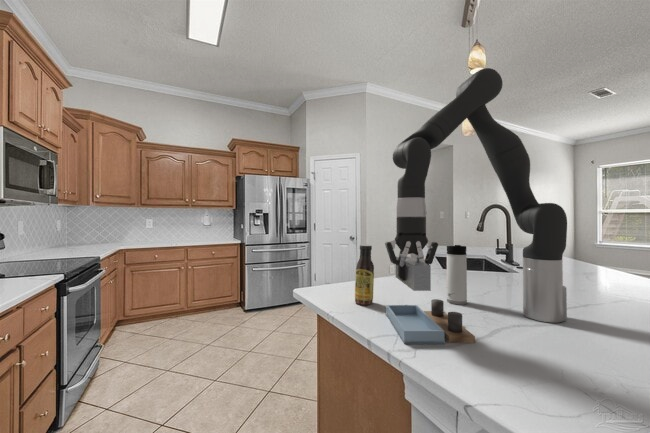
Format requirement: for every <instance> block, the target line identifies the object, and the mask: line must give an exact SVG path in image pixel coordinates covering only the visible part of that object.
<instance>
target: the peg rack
mask: <svg viewBox="0 0 650 433" xmlns="http://www.w3.org/2000/svg"><path fill="white" fill-rule="evenodd" d="M430 302H431V304H430V305H431V306H430V307H431V310H423V311H424V312H425V313H426V314H427V315H428V316H429V317H430V318H431V319H432V320H433V321H434V322H435V323H436V324H437V325H439V326H440V327H441V328H442V329H443V330H444V340H446V341H447V343H449V344H450V343H453V344H454V343H455V344H457V343H459V344H460V343H466V344H469V343H470V344H472V343H476V335H474V333H472V332H471V331H469V330H468V329H466V328H465V327H464V326H463V314H462V313H461V312H457V311H448V312H445V311H444V309H445V308H444V300H441V299H438V298H437V299H436V298H434V299H431V301H430Z"/></svg>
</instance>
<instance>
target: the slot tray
mask: <svg viewBox="0 0 650 433" xmlns="http://www.w3.org/2000/svg"><path fill="white" fill-rule="evenodd" d="M385 311H386V312H385V313H386V314H385V315H386V317H387V319H388V320H389V323H390V324H391V325H392V326H393V327H392V328H394V330H395V332H396V333H397V335H398V337H399V338H400V339H401V341H402V343H403V344H404V345H445V340H446V339H445V338H444V330H443V329H442V328H441V327H440V326H439V325H437V324H436V323H435V322H434V321H433V320H432V319H431V318H430V317H429V316H428V315H427V314H426V313H425V312H424V311H425V310H423V309H422V308H421V307H420V306H419V305H417V304H386V305H385Z"/></svg>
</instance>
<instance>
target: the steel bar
mask: <svg viewBox="0 0 650 433" xmlns="http://www.w3.org/2000/svg"><path fill="white" fill-rule="evenodd" d="M398 258H399V256H396V259H397V260H398ZM431 265H432V264H426V263H424V262H421V261H419V260H417V258H416V259H415V258H414V257H411V256H407V258H406V260H405V263H404V267H405V281H401V280H400V278H399V277H398V265H396V264H395V278H396V279H398V280H399V281H400V282H402V283H403V284H404V285H405V286H407V287H408V288H409V289H411V290H412V291H413V292H414V291H415V292H416V291H417V292H421V291H423V292H426V291H428V292H429V291H432V290H431V288H432V287H431V285H432V284H431V281H432V280H431V279H432V278H431V276H432V275H431V271H432V270H431Z"/></svg>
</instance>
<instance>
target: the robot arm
mask: <svg viewBox="0 0 650 433" xmlns="http://www.w3.org/2000/svg"><path fill="white" fill-rule="evenodd" d="M502 89H503V79H502V77H501V75H500V73H499V72H498V71H497V70H496V69H493V68H490V67H489V68H488V67H486V68H482V69H479V70H477V71H476V72H475V73H473V74H472V75H471V76H469V77H468V78H467V79H466V80H465V81H463V82H462V83H461V84H460V85H458V87H457V89H456V92H455V96H456V97H455V98H454V99H453V100H452V101H450V102H448V103H447V104H446V105H444V106H443V107H442V108H441V109H440V110H438V111H437V112H436V113H435V114H433V115H432V116H431V117H430V118H429V119H428V120H427V121H426V122H425V123H424V124H422V126H421V127H419V128H418V129H417V130H416V131H415V132H414V133H412V134H411V135H409V136H408V137H407V138H405V139H404V140H402V141H401V142H399V143H398V145H397V146H396V147H395V149H393V152H392V162H393V164H394V165H395V166H396V167H397V168H399V169H402V170H405V171H404V174H403V175H402V176H401V177H400V178H399V179H398V181H397V200H396V236H395V238H394V240H393V239H392V240H391V241H385V243H384V245H385V248H386V252H387V255H388V258H389V259H390V260H389V261H390V263H392V264H393V265H395V266H396V265H398V277H399V278H400V280H401V281H400V280H399V281H400V282H402V281H405V267H404V263H405V260H406V258H407V257H408V255H411V254H413V255H415V258H416V260H419V261H421V262H424V263H426V264H429V265H432V264H433V261H434V258H435V256H436V252H437V250H438V247H439V243H438V242H436V241H431V240H428V237H427V205H426V180H427V177H428V174H429V168H430V164H431V158H432V151H431V150H433V149H435V148H437V147H438V146H440V145H441V144H443V142H444V141H445V140H446V139H447V138H448V137H449V136H450V135H451V134H452V133H453V132H455V130H456V129H457V128H458V127H459V126H460V125H461V124H462V123H463V122H464V121H466V120H467V121H468V122H469V123H470V125H471V127H472V129H473V130H474V132H475V133H476V136H477V137H478V140H479V141H480V143H481V145H482V148H483V149H484V151H485V153H486V156H487V159H488V160H489V162H490V164H491V166H492V169H493V171H494V172H495V174H496V177H498V181H500V185H501V187H502V189H503V191H504V192H505V195H506V197H507V200H508V202H509V205H510V208H511V211H512V213H513V214H512V215H513V217H514V220H515V223H516V224H517V226H518V228H519V229H520V230H522V232H524V233H526V234H529V235H532V240H531V243H530V244H528V245H527V246H525V247H523V249H522V314H523V316H524V317H526V318H528V319H531V320H535V321H538V322H545V323H555V324H556V323H558V324H559V323H562V322H566V321H568V318H567V317H568V314H567V313H568V308H567V305H568V303H567V301H568V300H567V294H568V293H567V291H568V290H567V287H566V286H565V285H564V284H563V283H564V280H563V278H564V277H563V276H564V275H563V274H564V271H563V255H564V253H565V251H566V247H567V239H568V238H567V237H568V236H567V234H568V232H567V231H568V218H567V213H566V212H565V210H564V208H563V207H562V206H561V205H559V204H558V203H554V202H543V203H539V202H538V201H537V199H536V196H535V194H534V193H533V191H532V189H531V184H530V183H531V182H530V175H531V159H530V156H529V153H528V150H527V149H526V147H525V145H524V143H523V141H522V139H521V138H520V136H519V135H517V133H515V132H513V131H512V130H510V129H509V128H507V127H506V126H504V125H501V124H500V123H499V122H498V121H497V120H496V119H495V118H493V116H492V115H491V113H490V111H489V110H488V108H487V104H488V103H489V102H491V101H493V100H494V99H495V98H497V97H498V95H500V92H501V91H502ZM395 245H396V246H397V247H398V248H399V253H398V257H399V258H398V260H397V259H396V257H397V256H396V253H395V251H394V249H395V248H396V246H395ZM425 246H427V247H426V248H427V251H426V254H424V251H423V249H424V248H425ZM425 255H426V256H425ZM424 257H425V258H424Z"/></svg>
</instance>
